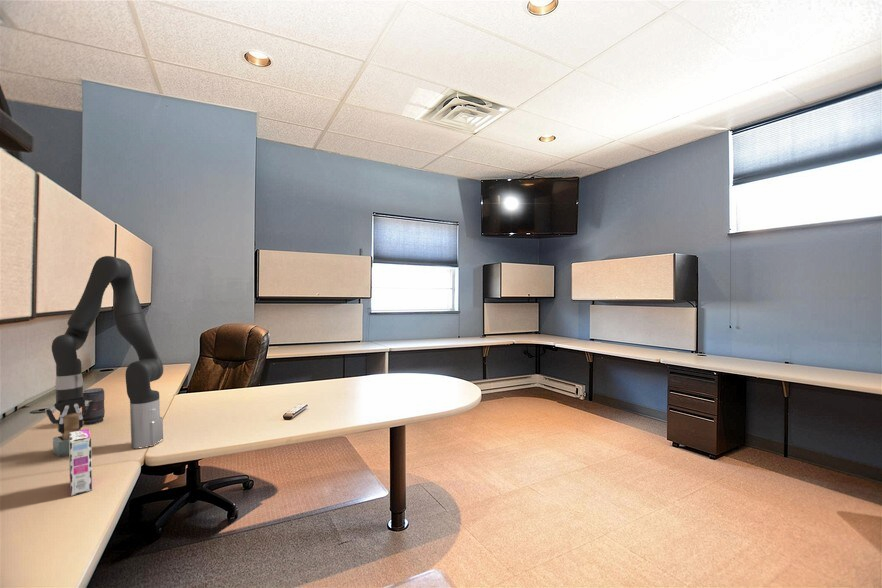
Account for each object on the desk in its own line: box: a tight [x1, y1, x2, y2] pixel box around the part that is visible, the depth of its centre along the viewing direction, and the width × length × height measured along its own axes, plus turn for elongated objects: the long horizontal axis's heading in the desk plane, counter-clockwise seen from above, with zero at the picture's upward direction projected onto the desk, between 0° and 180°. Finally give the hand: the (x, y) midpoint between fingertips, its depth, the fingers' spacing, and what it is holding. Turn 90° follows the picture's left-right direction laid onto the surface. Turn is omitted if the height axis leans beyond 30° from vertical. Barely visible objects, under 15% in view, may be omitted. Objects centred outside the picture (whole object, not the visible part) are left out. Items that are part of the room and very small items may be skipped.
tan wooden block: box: [61, 412, 80, 441], centre depth 148 cm, size 4×4×11 cm
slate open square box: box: [52, 435, 69, 458], centre depth 148 cm, size 8×8×6 cm
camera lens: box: [81, 387, 106, 426], centre depth 180 cm, size 8×8×15 cm
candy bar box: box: [68, 428, 93, 497], centre depth 120 cm, size 11×5×16 cm, turn 45°
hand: (70, 430), depth 148 cm, fingers closed on tan wooden block, 4 cm apart
